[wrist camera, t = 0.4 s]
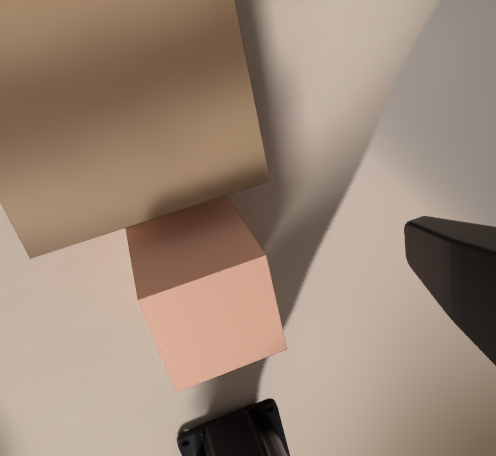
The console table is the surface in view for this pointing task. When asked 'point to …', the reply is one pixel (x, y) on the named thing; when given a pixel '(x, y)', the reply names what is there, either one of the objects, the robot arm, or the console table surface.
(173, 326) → the peach block
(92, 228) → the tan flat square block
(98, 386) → the console table surface
